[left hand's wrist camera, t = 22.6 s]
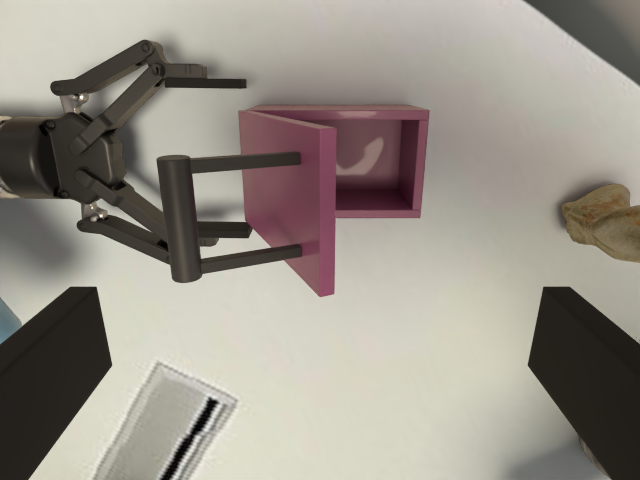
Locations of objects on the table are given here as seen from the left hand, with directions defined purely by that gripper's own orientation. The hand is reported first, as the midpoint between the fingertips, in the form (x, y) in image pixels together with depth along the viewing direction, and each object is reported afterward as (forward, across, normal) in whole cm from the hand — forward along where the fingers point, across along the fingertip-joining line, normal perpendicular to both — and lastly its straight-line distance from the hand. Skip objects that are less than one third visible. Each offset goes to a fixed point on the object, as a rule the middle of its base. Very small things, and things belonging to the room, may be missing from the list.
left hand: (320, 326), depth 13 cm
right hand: (+29, +7, 0) cm, 30 cm away
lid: (+19, +3, 0) cm, 19 cm away
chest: (+35, -1, 0) cm, 35 cm away
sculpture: (+35, -30, +6) cm, 46 cm away
